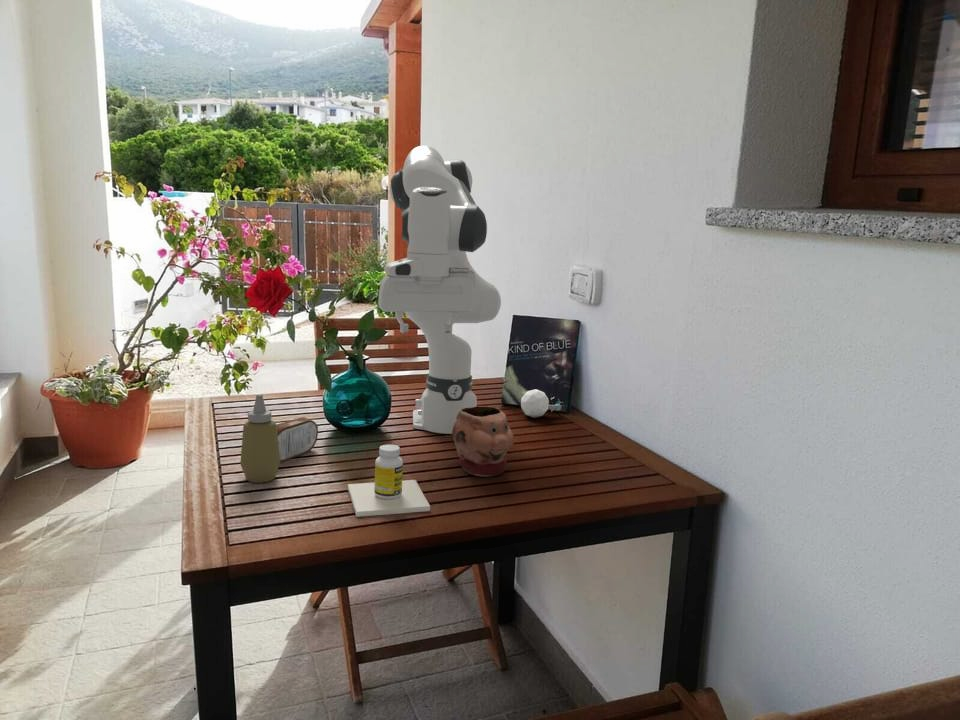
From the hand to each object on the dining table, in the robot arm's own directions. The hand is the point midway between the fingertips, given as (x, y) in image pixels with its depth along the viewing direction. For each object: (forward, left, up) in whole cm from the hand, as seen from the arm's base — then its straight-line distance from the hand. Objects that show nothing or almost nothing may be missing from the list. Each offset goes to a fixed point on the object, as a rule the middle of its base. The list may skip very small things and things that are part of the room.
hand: (426, 332), depth 152 cm
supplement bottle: (+14, -10, -30) cm, 35 cm away
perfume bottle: (-38, +43, -31) cm, 65 cm away
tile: (+14, -10, -31) cm, 36 cm away
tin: (-15, -27, -31) cm, 44 cm away
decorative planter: (0, +13, -31) cm, 34 cm away
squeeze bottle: (-2, -34, -31) cm, 46 cm away
